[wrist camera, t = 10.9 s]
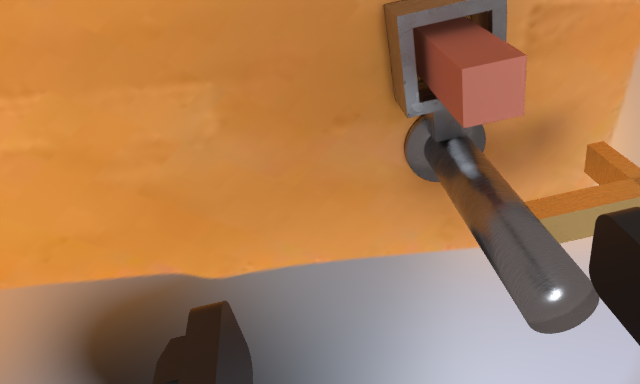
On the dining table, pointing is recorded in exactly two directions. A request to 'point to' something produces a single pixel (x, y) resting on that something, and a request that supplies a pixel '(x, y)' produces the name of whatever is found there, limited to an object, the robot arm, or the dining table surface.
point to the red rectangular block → (471, 71)
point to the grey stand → (493, 190)
